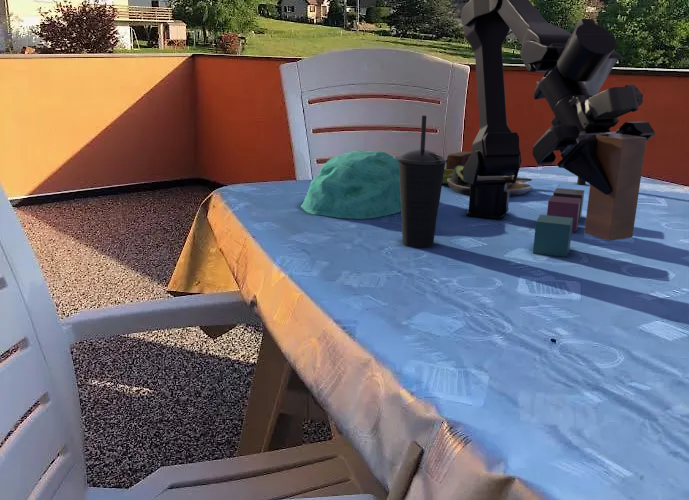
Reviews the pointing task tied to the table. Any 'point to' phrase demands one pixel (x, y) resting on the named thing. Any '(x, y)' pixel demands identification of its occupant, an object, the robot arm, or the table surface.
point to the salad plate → (464, 187)
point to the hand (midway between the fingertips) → (621, 191)
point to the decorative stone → (356, 186)
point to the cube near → (552, 235)
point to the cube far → (571, 196)
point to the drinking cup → (420, 193)
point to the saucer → (447, 175)
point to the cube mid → (565, 208)
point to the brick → (457, 159)
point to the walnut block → (616, 187)
